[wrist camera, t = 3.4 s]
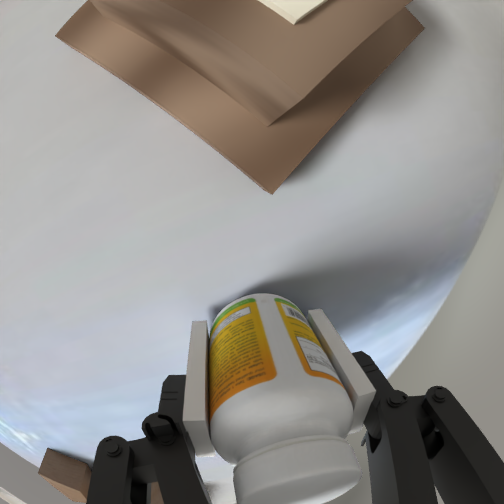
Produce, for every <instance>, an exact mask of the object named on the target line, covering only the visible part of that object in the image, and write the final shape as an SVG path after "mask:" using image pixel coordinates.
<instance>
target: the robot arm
mask: <svg viewBox="0 0 504 504" xmlns="http://www.w3.org/2000/svg"><path fill="white" fill-rule="evenodd" d="M307 321H308V323H309V325H310V327H311V328H312V330H313V332H314V334H315V336H316V337H317V339H318V341H319V343H320V345H321V346H322V348H323V350H324V352H325V354H326V355H327V357H328V359H329V361H330V363H331V364H332V366H333V368H334V370H335V372H336V374H337V375H338V377H339V379H340V381H341V383H342V384H343V386H344V388H345V390H346V392H347V394H348V396H349V398H350V400H351V403H352V406H353V412H354V418H353V424H352V427H351V430H350V431H349V433H348V434H352V433H355V432H358V431H361V429H362V427H363V424H364V425H365V427H366V429H367V432H366V434H365V436H364V438H363V440H362V443H361V446H363V445H364V444H365V442H366V446H367V454H368V462H369V471H370V480H371V493H372V504H438V502H437V496H436V492H435V487H434V485H435V486H436V488H437V490H438V492H439V494H440V496H441V498H442V500H443V501H444V503H445V504H504V463H503V461H502V460H501V458H500V457H499V456H498V454H497V453H496V451H495V450H494V448H493V447H492V446H491V444H490V443H489V442H488V440H487V439H486V437H485V436H484V435H483V433H482V432H481V431H480V429H479V428H478V427H477V425H476V424H475V423H474V421H473V420H472V419H471V417H470V416H469V415H468V414H467V412H466V411H465V410H464V408H463V407H462V406H461V405H460V403H459V402H458V401H457V400H456V398H455V397H454V396H453V395H452V393H451V392H450V391H449V390H447V389H446V388H444V387H442V386H434V387H431V388H430V389H428V391H427V393H426V395H422V396H407V394H405V393H404V392H402V391H399V390H394V389H393V388H392V386H391V385H390V383H389V382H388V380H387V379H386V378H385V376H384V375H383V374H382V372H381V371H380V370H379V368H378V367H377V365H375V363H374V361H373V360H372V359H371V357H370V356H369V355H367V354H366V353H364V352H362V351H359V352H355V353H351V352H350V350H349V349H348V347H347V346H346V344H345V343H344V341H343V340H342V339H341V337H340V336H339V334H338V333H337V331H336V330H335V328H334V327H333V325H332V324H331V322H330V321H329V319H328V318H327V316H326V315H325V314H324V312H323V311H322V309H314V310H308V318H307ZM161 392H162V393H161V397H160V403H159V409H158V412H156V413H153V414H150V415H149V416H148V417H146V418H145V419H144V421H143V423H142V430H143V432H144V434H145V436H146V437H145V438H142V439H138V440H133V441H126V440H125V439H123V438H122V437H119V436H109V437H106V438H104V439H103V440H102V441H101V442H100V443H99V445H98V447H97V451H96V455H95V460H94V464H93V469H92V474H91V479H90V484H89V489H88V495H87V501H86V504H151V484H152V483H153V482H158V484H159V488H160V492H161V495H162V499H163V502H164V504H212V502H211V500H210V497H209V495H208V493H207V490H206V488H205V485H204V483H203V480H202V478H201V475H200V472H199V470H198V467H197V465H196V462H195V453H196V456H197V457H216V454H215V448H214V446H213V444H212V441H211V434H210V426H209V333H208V327H207V320H206V321H192V328H191V336H190V345H189V354H188V364H187V374H186V375H169V376H168V377H167V378H166V380H165V381H164V382H163V386H162V391H161Z"/></svg>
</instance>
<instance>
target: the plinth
mask: <svg viewBox="0 0 504 504" xmlns="http://www.w3.org/2000/svg"><path fill="white" fill-rule="evenodd" d="M411 1H412V0H88V1H87V2H86V3H85V4H84V5H83V6H82V7H81V8H80V9H79V10H78V11H77V12H76V13H75V14H74V15H73V16H72V17H71V18H70V19H69V20H68V21H67V22H66V24H65V25H64V26H63V27H62V28H61V29H60V30H59V32H58V33H57V34H56V35H55V36H56V37H57V38H59V39H60V40H61V41H63V42H64V43H66V44H67V45H69V46H70V47H71V48H73V49H75V50H76V51H78V52H79V53H81V54H83V55H84V56H86V57H87V58H89V59H91V60H92V61H94V62H95V63H97V64H98V65H100V66H101V67H103V68H104V69H106V70H107V71H109V72H110V73H112V74H113V75H115V76H116V77H118V78H119V79H121V80H122V81H124V82H125V83H127V84H128V85H129V86H131V87H132V88H134V89H135V90H137V91H138V92H139V93H141V94H142V95H144V96H145V97H146V98H148V99H149V100H151V101H152V102H153V103H155V104H156V105H158V106H159V107H160V108H162V109H163V110H164V111H166V112H167V113H168V114H170V115H171V116H172V117H174V118H175V119H176V120H178V121H179V122H180V123H182V124H183V125H184V126H186V127H187V128H188V129H190V130H191V131H192V132H193V133H195V134H196V135H197V136H199V137H200V138H201V139H202V140H204V141H205V142H206V143H207V144H209V145H210V146H211V147H213V148H214V149H215V150H216V151H218V152H219V153H220V154H221V155H222V156H224V157H225V158H226V159H227V160H229V161H230V162H231V163H232V164H234V165H235V166H236V167H237V168H238V169H240V170H241V171H242V172H243V173H244V174H246V175H247V176H248V177H249V178H250V179H252V180H253V181H254V182H255V183H256V184H257V185H259V186H260V187H261V188H262V189H263V190H264V191H266V192H268V193H270V194H273V193H274V192H275V191H276V190H277V188H278V187H279V186H280V185H281V184H282V183H283V182H284V180H285V179H286V178H287V177H288V176H289V175H290V174H291V172H292V171H293V170H294V169H295V168H296V167H297V166H298V165H299V163H300V162H301V161H302V160H303V159H304V158H305V157H306V155H307V154H308V153H309V152H310V151H311V150H312V149H313V148H314V146H315V145H316V144H317V143H318V142H319V141H320V140H321V139H322V138H323V136H324V135H325V134H326V133H327V132H328V131H329V130H330V129H331V128H332V126H333V125H334V124H335V123H336V122H337V121H338V120H339V119H340V118H341V117H342V115H343V114H344V113H345V112H346V111H347V110H348V109H349V108H350V107H351V106H352V105H353V103H354V102H355V101H356V100H357V99H358V98H359V97H360V96H361V95H362V94H363V93H364V92H365V90H366V89H367V88H368V87H369V86H370V85H371V84H372V83H373V82H374V81H375V80H376V79H377V78H378V77H379V75H380V74H381V73H382V72H383V71H384V70H385V69H386V68H387V67H388V66H389V65H390V64H391V63H392V62H393V61H394V60H395V59H396V58H397V57H398V55H399V54H400V53H401V52H402V51H403V50H404V49H405V48H406V47H407V46H408V45H409V44H410V43H411V42H412V41H413V40H414V39H415V38H416V37H417V36H418V35H419V34H420V33H421V32H422V31H423V30H424V29H425V28H424V26H423V25H422V24H421V23H420V22H419V21H418V20H417V19H416V18H415V17H414V16H413V15H412V14H411V13H410V11H409V10H408V9H407V8H406V7H405V6H406V5H407V4H409V3H410V2H411Z"/></svg>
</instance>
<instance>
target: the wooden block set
mask: <svg viewBox="0 0 504 504" xmlns="http://www.w3.org/2000/svg"><path fill="white" fill-rule="evenodd" d="M38 474H39V475H41V476H42V477H43V478H44V479H45V480H46V481H48V482H49V483H50V484H51V485H52V486H54V487H55V488H56V489H57V490H59V491H60V492H61V493H63V494H64V495H65V496H67V497H68V498H69V499H71V500H72V501H75V502H84V503H86V501H87V495H88V489H89V484H90V479H91V474H92V472H91V470H90V468H89V466H88V464H87V463H84V462H81V461H78V460H76V459H73V458H70V457H68V456H65V455H63V454H60V453H58V452H56V451H53V450H51V449H49V448H47V450H46V453H45V456H44V458H43V461H42V463H41V466H40V469H39V472H38ZM151 504H164V502H163V499H162V495H161V492H160V488H159V484H158V482H153V483H152V484H151Z"/></svg>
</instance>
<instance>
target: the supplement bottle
mask: <svg viewBox="0 0 504 504" xmlns="http://www.w3.org/2000/svg"><path fill="white" fill-rule="evenodd" d="M353 418H354V412H353V406H352V403H351V400H350V398H349V396H348V394H347V392H346V390H345V388H344V386H343V384H342V383H341V381H340V379H339V377H338V375H337V374H336V372H335V370H334V368H333V366H332V364H331V363H330V361H329V359H328V357H327V355H326V354H325V352H324V350H323V348H322V346H321V345H320V343H319V341H318V339H317V337H316V336H315V334H314V332H313V330H312V328H311V327H310V325H309V323H308V321H307V320H306V318H305V316H304V315H303V313H302V312H301V310H300V309H299V308H298V307H297V306H296V305H295V304H294V303H292V302H291V301H290V300H288V299H286V298H284V297H281V296H278V295H275V294H268V293H258V294H252V295H247V296H244V297H241V298H239V299H237V300H235V301H233V302H231V303H230V304H228V305H227V306H226V307H224V308H223V309H222V310H221V311H220V312H219V314H218V315H217V316H216V318H215V320H214V322H213V324H212V327H211V330H210V338H209V426H210V434H211V441H212V444H213V446H214V448H215V450H216V451H217V453H218V454H219V455H220V456H221V457H222V458H223V459H224V460H225V461H227V462H228V463H230V464H231V465H233V466H235V467H234V470H233V473H234V477H233V482H234V488H235V494H236V501H237V504H322V503H325V502H328V501H330V500H332V499H334V498H336V497H338V496H340V495H342V494H344V493H345V492H347V491H348V490H350V489H351V488H352V487H354V486H355V485H356V484H357V483H358V482H359V481H360V479H361V477H362V470H361V468H360V465H359V463H358V460H357V458H356V455H355V453H354V449H353V448H352V447H351V446H350V445H349V443H348V442H347V441H346V440H345V438H346V437H347V435H348V433H349V431H350V430H351V427H352V424H353Z"/></svg>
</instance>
